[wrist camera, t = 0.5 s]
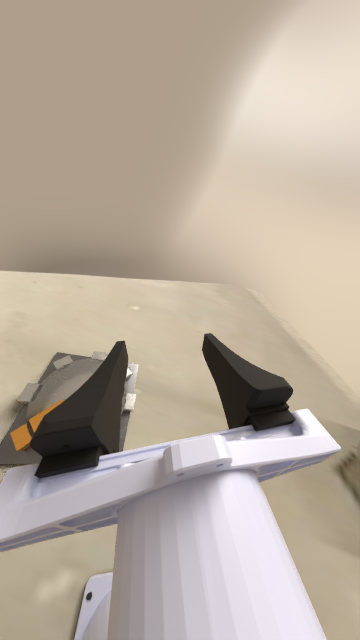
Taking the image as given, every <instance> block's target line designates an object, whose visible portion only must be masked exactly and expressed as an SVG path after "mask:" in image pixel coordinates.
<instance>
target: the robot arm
mask: <svg viewBox="0 0 360 640" xmlns="http://www.w3.org/2000/svg"><path fill="white" fill-rule="evenodd" d="M202 351H203V355H204V358H205V361H206V363H207V365H208V367H209V370H210V372H211V374H212V376H213V378H214V381H215V383H216V386H217V389H218V392H219V395H220V398H221V402H222V405H223V408H224V412H225V415H226V419H227V423H228V427H229V430H224V431H219V432H214V433H209V434H205V435H200V436H195V437H190V438H185V439H181V440H176V441H171V442H166V443H161V444H156V445H152V446H147V447H142V448H137V449H132V450H128V451H123V452H119V441H120V422H121V409H122V397H123V391H124V386H125V380H126V375H127V369H128V354H127V349H126V345H125V341H118V342H116V344H115V345H114V347H113V349H112V350H111V352H110V353H109V354H108V356H107V357H106V359H105V360H104V361H103V363H102V364H101V365H100V366H99V368H98V369H97V370H96V371H95V372H94V374H93V375H92V376H91V377H90V378H89V379H88V380H87V381H86V382H85V383H84V384H83V385H82V386H81V387H80V388H79V389H78V390H76V391H75V392H74V393H73V394H72V395H71V396H69V397H68V398H67V399H66V400H65V401H63V402H62V403H61V404H59V405H58V406H57V407H55V408H54V409H53V410H51V411H50V412H49V413H47V414H46V415H44V417H43V419H42V420H41V422H40V423H39V425H38V427H37V429H36V431H35V433H34V435H33V437H32V439H31V441H30V447H31V448H32V449H33V450H34V451H36V452H37V453H38V454H40V455H41V456H42V459H41V462H40V464H29V465H24V466H19V467H14V468H10V469H8V470H7V471H6V473H5V475H4V477H3V479H2V480H1V482H0V552H4V551H8V550H12V549H15V548H19V547H23V546H26V545H30V544H34V543H38V542H42V541H46V540H50V539H54V538H58V537H63V536H67V535H71V534H75V533H80V532H84V531H88V530H93V529H97V528H101V527H105V526H110V525H114V524H118V525H117V535H116V546H115V557H114V568H113V572H108V573H103V574H97V575H93V576H91V577H90V578H89V579H88V581H87V583H86V587H85V591H84V596H83V600H82V605H81V610H80V614H79V619H78V623H77V628H76V633H75V637H74V640H327V639H326V637H325V634H324V632H323V630H322V627H321V625H320V623H319V620H318V618H317V616H316V613H315V611H314V609H313V606H312V604H311V602H310V599H309V597H308V595H307V592H306V590H305V588H304V585H303V583H302V581H301V578H300V576H299V574H298V571H297V569H296V567H295V564H294V562H293V560H292V557H291V555H290V553H289V550H288V548H287V546H286V543H285V541H284V539H283V536H282V534H281V532H280V529H279V527H278V525H277V522H276V520H275V518H274V515H273V513H272V511H271V508H270V506H269V504H268V501H267V499H266V497H265V494H264V492H263V490H262V487H261V485H260V482H263V481H266V480H269V479H271V478H274V477H277V476H280V475H283V474H286V473H289V472H292V471H295V470H298V469H301V468H305V467H308V466H311V465H315V464H318V463H321V462H322V461H324V460H326V459H327V458H329V457H331V456H333V455H334V454H336V453H338V452H339V451H341V447H340V446H339V445H338V444H337V443H336V441H335V440H334V439H333V438H332V437H331V435H330V434H329V433H328V432H327V431H326V430H325V428H324V427H323V426H322V425H321V424H320V423H319V421H318V420H317V419H316V418H315V417H314V415H313V414H312V413H311V412H310V411H309V410H308V409H302V410H297V411H293V412H291V413H290V411H289V410H288V409H289V406H288V405H287V403H286V402H287V400H288V399H289V398H290V397H291V395H292V393H293V389H292V387H291V386H290V385H289V384H288V383H287V381H286V380H285V379H284V378H282V377H280V376H277V375H274V374H272V373H269V372H267V371H265V370H263V369H261V368H259V367H257V366H255V365H253V364H251V363H249V362H248V361H246V360H244V359H243V358H241V357H240V356H238V355H237V354H235V353H234V352H233V351H231V350H230V349H229V348H227V347H226V346H225V345H224V344H223V343H221V342H220V341H219V340H218V339H217V338H216V337H215V336H213V335H212V334H211V333H209V334H205V335H204V341H203V347H202ZM89 592H92V597H91V598H90V600H87V599H86V596H87V594H88V593H89Z"/></svg>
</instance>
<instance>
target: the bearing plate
mask: <svg viewBox="0 0 360 640" xmlns="http://www.w3.org/2000/svg"><path fill="white" fill-rule="evenodd" d="M68 355H69V356H70V357H71V359H72V361H73V362H74V361H77V360H82V359H91V357H85V356H78V355H71V354H65V353H58V352H57V353H56V355H55V357H54V358H53V360H52V361H51V363H50V365H49V366H48V368H47V370H46V371H45V373H44V374H43V376H42V378H41V379H40V381H39V383H38V384H41V383H42V382H43V381H44V380H45V379H46V378H47V377H48V376H49V375H50V374H51V373H53V372H54V371H55V370H57V369H56V367H55V365H54V364H53V362H55V361H57V360H59V359H62V358H64V357H66V356H68ZM128 368H129V370H130V371H131V373H132V374H131V377H130V378H128V379H127V380H125V381H126V385H127V393H130V394H134V389H135V384H136V378H137V373H138V368H139V365H138V364H132V363H128ZM28 405H29V404H25V405H24V407H23V409H22V410H21V412H20V413H19V415H18V417H17V418H16V420H15V422H14V423H13V425H12V426H11V428H10V430H9V431H8V433H7V435H6V436H5V438H4V440H3V441H2V443H1V444H0V464H40V462H41V459H42V456H41V455H40V454H38V453H37V452H36V451H34V450H33V449H32V448H31V447H28V448H27V449H25V450H24V451H22V452H21V451H17V450H16V448H15V445H14V442H13V440H12V437H11V434H10V433H11V432H13V431H14V430H16V429H18V428H19V427H21V426H23V425H24V424H26V414H27V409H28ZM129 415H130V412H125V411H123V412H122V415H121V422H120V441H119V452H122V451H123V446H124V441H125V436H126V431H127V425H128V420H129Z"/></svg>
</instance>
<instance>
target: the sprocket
mask: <svg viewBox="0 0 360 640" xmlns="http://www.w3.org/2000/svg"><path fill="white" fill-rule="evenodd" d="M107 356H108V353H102V352H96V351H94V353H93V355H92V357H91V359H82V360H77V361H74V362H73V361H72V359H71V357H70V356H69V355H68V356H66V357H64V358H62V359H59V360H57V361H55V362H53V364H54V365H55V367H56V369H57V370H55V371H54V372H53V373H51V374H50V375H49V376H48V377H47V378H46V379H45V380H44V381H43V382H42V383H41V384H32V383H28V384H27V386H26V387H25V389H24V390H23V392H22V393H21V395H20V396H19V398H18V399H17V401H18V402H19V403H21V404H29V405H28V409H27V414H26V424H24V425H23V426H21V427H19V428H18V429H16V430H14V431H13V432H11V433H10V434H11V437H12V440H13V442H14V445H15V448H16V450H17V451H21V452H22V451H24V450H25V449H27V448H28V447H30V441H31V439H32V437H33V435H34V433H35V431H36V429H37V427H38V425H39V423H40V422H41V420H42V419H43V417H44V415H46V414H47V413H49V412H50V411H51V410H53V409H54V408H55V407H57V406H58V405H59V404H61V403H62V402H63V401H65V400H66V399H67V398H68V397H69V396H71V395H72V394H73V393H74V392H75V391H76V390H78V389H79V388H80V387H81V386H82V385H83V384H84V383H85V382H86V381H87V380H88V379H89V378H90V377H91V376H92V375H93V374H94V372H95V371H96V370H97V369H98V368H99V366H100V365H101V364H102V363H103V361H104V360H105V359H106V357H107ZM131 374H132V373H131V371H130V370H129V368H128V369H127V375H126V380H127V379H128V378H130V377H131ZM135 398H136V394H130V393H127V385H126V381H125V386H124V391H123V397H122V409H121V415H122V412H123V411H125V412H132V411H133V409H134V403H135Z"/></svg>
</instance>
